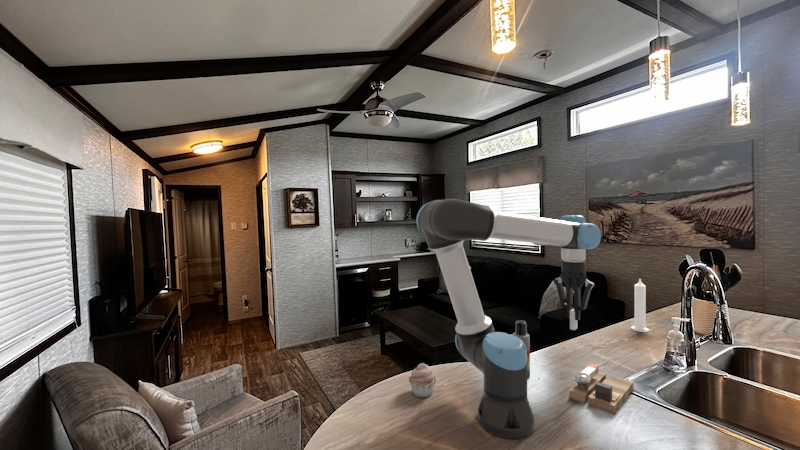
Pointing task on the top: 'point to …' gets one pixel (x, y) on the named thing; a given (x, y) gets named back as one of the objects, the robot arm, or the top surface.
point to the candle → (640, 308)
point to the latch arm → (586, 374)
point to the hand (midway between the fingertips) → (573, 328)
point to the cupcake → (422, 381)
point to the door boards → (603, 392)
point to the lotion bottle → (523, 339)
